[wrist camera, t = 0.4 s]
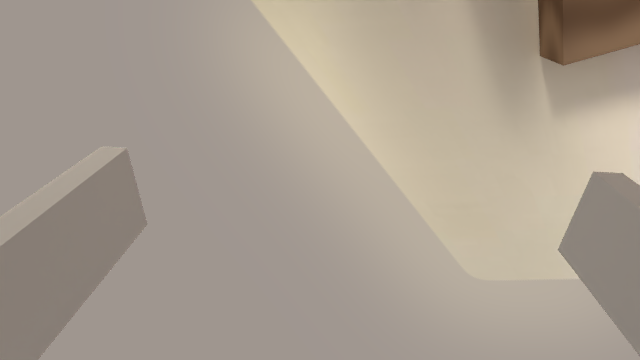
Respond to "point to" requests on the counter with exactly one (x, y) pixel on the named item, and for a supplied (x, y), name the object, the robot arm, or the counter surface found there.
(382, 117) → the counter surface
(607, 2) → the seat board
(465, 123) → the counter surface
